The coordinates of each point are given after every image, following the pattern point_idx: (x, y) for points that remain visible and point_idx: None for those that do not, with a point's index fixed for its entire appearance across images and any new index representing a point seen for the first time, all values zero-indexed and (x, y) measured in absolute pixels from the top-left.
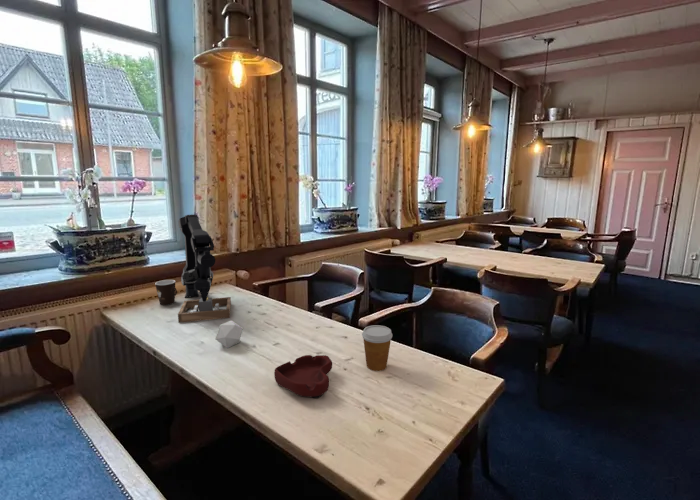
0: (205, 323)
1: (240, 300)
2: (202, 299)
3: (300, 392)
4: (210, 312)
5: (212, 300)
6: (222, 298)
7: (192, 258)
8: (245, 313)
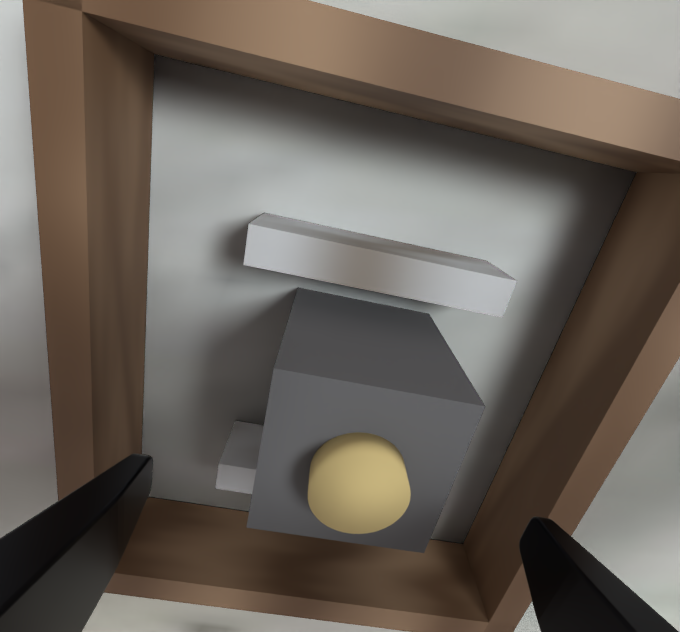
0: (7, 313)
1: (530, 626)
2: (93, 479)
3: None
4: (61, 423)
5: (547, 489)
6: (510, 585)
7: None
8: (184, 607)
